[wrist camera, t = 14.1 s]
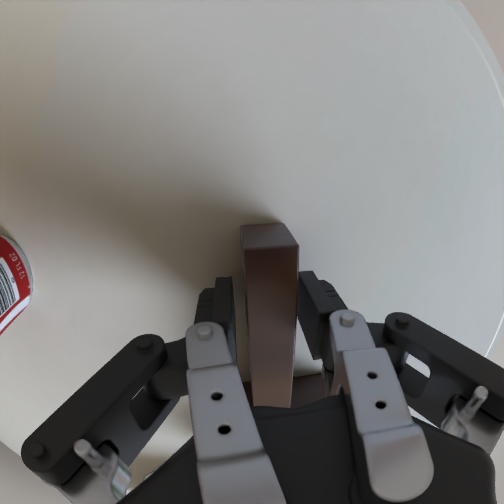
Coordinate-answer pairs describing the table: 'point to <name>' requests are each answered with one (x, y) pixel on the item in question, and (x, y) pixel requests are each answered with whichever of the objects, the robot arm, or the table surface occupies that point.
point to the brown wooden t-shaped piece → (273, 318)
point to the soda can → (13, 282)
